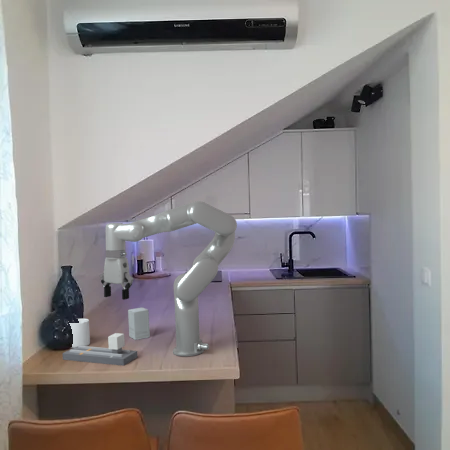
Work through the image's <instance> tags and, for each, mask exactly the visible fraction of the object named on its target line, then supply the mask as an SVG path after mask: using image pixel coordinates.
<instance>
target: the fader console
mask: <svg viewBox="0 0 450 450" xmlns="http://www.w3.org/2000/svg"><path fill="white" fill-rule="evenodd" d="M137 358H138V350H131V349H123V348H122V352H121V353H119V354H114V353H112V349H109V347H99V346H98V347H97V346H89V345H88V346H77V347H75V348H70V349H69V350H66V351H64V352H62V360H65V361H73V362H74V361H75V362H83V363H92V364H93V363H95V364H103V365H112V366H113V365H114V366H125V365H127V364H129V363H131V362H132V361H134V360H135V359H137Z"/></svg>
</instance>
